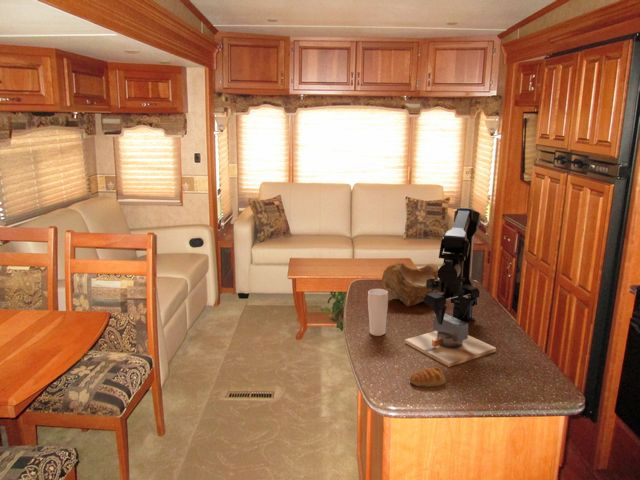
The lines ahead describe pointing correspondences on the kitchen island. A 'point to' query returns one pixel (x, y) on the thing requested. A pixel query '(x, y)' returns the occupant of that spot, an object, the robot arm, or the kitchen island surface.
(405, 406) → the kitchen island surface
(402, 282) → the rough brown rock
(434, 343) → the coupling
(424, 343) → the beige square board
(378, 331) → the drinking glass
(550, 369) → the kitchen island surface
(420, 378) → the pastry
